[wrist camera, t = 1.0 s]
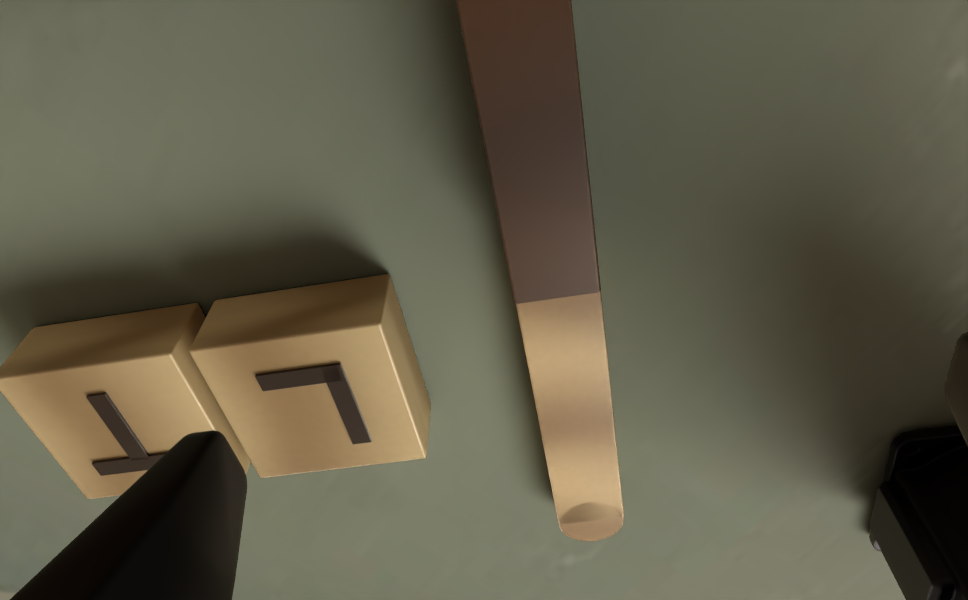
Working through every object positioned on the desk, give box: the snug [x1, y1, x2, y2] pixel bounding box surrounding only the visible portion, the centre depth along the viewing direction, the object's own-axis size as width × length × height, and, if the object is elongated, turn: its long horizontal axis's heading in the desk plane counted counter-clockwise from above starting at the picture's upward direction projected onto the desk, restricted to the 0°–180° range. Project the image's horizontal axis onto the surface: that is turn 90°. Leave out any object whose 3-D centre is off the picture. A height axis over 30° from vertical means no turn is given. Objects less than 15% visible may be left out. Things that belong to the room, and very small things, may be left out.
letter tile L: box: [189, 274, 431, 478], centre depth 22 cm, size 6×6×2 cm
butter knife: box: [456, 0, 624, 541], centre depth 20 cm, size 22×2×3 cm, turn 11°
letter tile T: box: [0, 303, 251, 499], centre depth 22 cm, size 6×6×2 cm
